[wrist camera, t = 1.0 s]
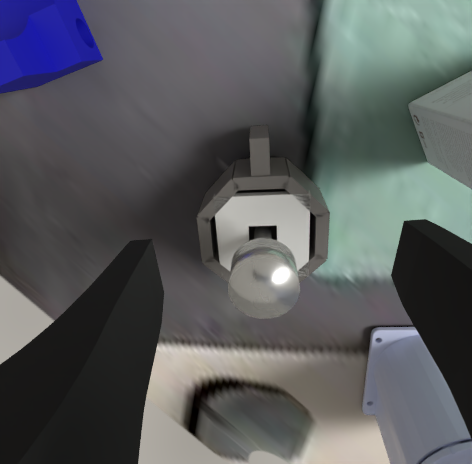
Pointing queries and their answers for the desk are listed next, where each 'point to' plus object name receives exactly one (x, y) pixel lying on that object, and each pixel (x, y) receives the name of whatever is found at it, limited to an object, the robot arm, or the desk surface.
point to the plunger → (263, 277)
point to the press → (263, 210)
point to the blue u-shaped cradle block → (42, 42)
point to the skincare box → (447, 127)
